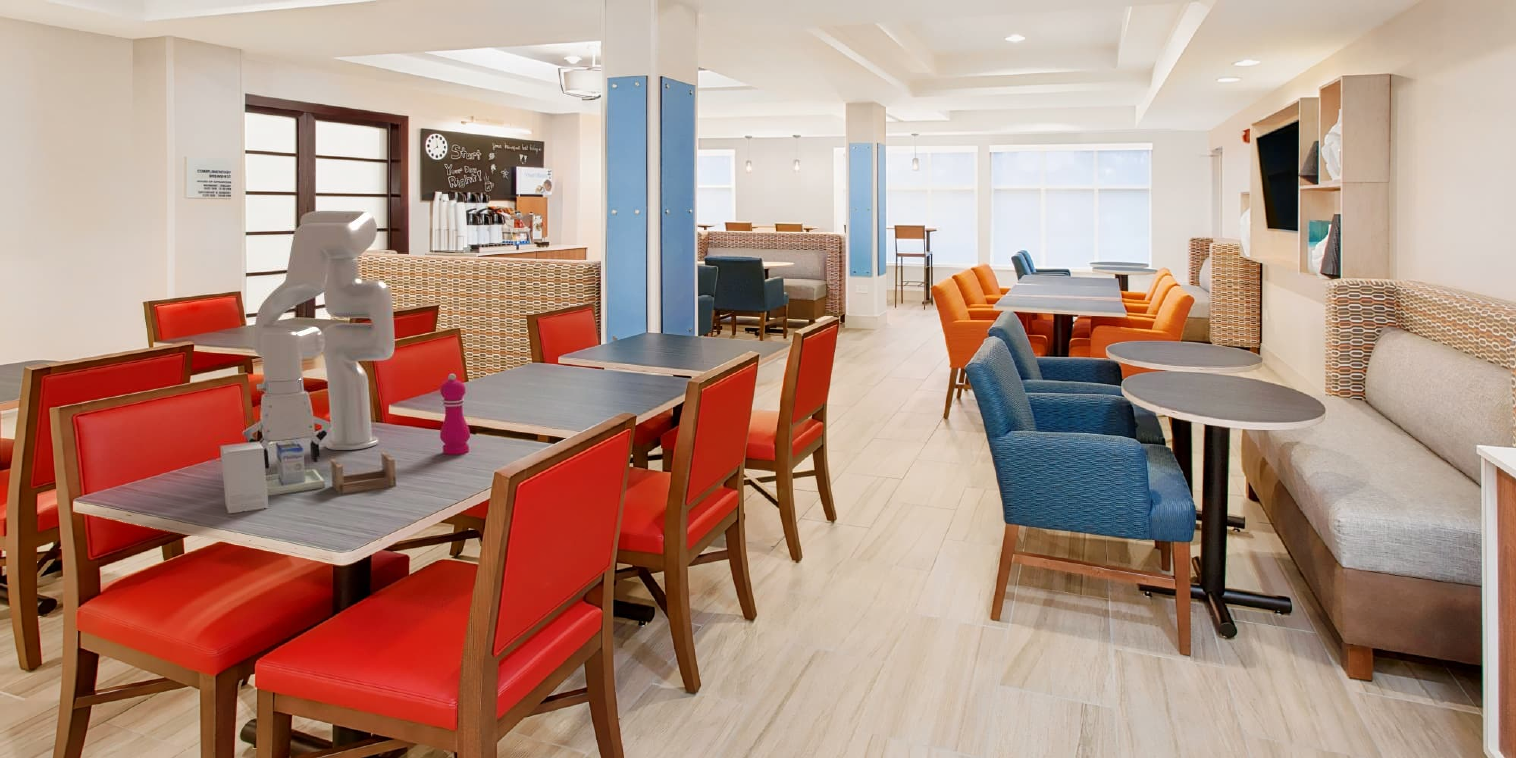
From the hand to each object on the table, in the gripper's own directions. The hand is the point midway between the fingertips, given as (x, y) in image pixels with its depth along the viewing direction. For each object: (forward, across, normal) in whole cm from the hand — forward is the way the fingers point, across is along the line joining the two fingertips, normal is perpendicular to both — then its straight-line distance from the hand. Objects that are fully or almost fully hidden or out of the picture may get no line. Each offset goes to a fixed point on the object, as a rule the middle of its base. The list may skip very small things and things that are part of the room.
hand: (290, 464), depth 206 cm
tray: (+5, 0, 0) cm, 5 cm away
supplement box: (+5, -10, -11) cm, 16 cm away
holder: (+5, +13, -9) cm, 17 cm away
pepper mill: (+5, +39, +10) cm, 41 cm away
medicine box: (+4, 0, 0) cm, 4 cm away
